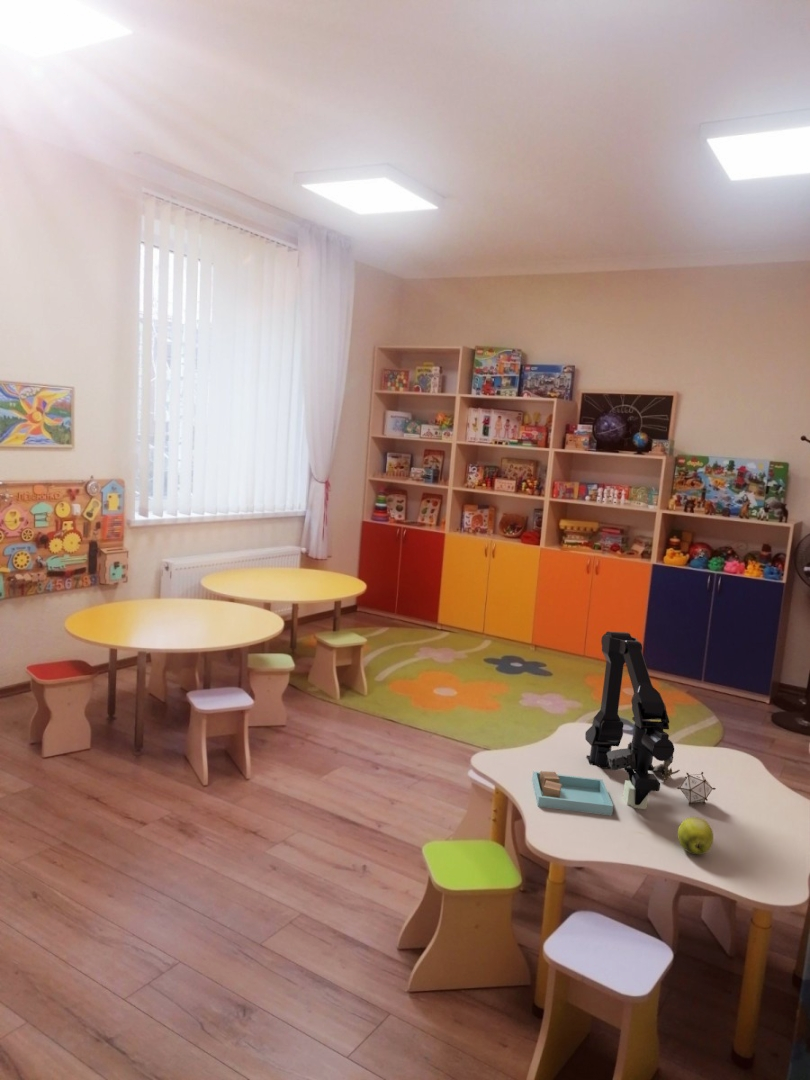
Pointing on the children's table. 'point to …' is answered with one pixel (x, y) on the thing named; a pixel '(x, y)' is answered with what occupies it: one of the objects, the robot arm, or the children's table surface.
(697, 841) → the apple
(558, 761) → the children's table surface
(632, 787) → the sage block
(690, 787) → the game die
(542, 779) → the walnut block
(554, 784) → the walnut block
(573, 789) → the tray
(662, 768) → the eagle figurine
